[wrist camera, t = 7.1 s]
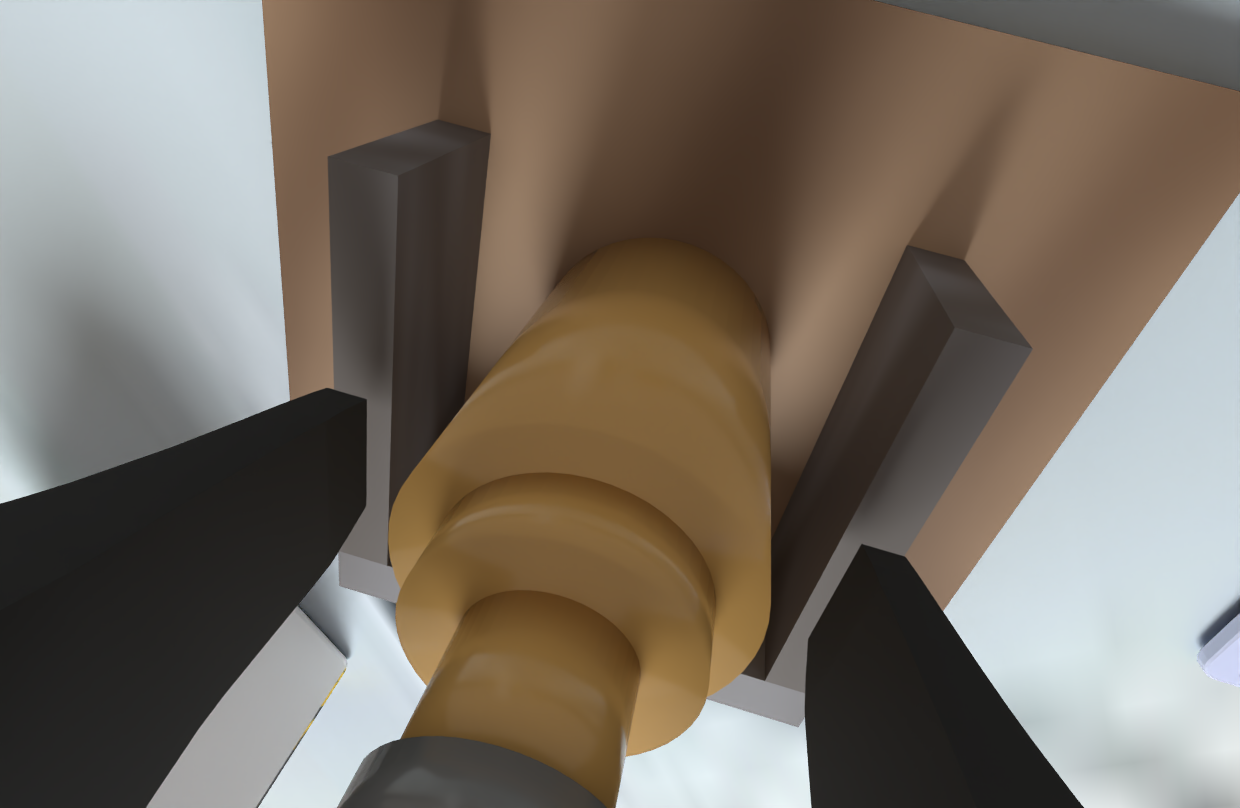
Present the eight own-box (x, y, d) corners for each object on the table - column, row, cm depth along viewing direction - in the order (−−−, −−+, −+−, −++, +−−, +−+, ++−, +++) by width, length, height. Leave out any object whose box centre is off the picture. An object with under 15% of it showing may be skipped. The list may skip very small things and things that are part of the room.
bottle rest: (1257, 98, 10) (1542, 150, 7) (881, 657, 18) (911, 833, 14) (290, -142, 11) (42, -220, 7) (319, 488, 19) (204, 611, 15)
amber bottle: (811, 287, 12) (904, 932, 4) (719, 474, 15) (649, 1118, 6) (573, 202, 12) (124, 642, 4) (522, 403, 15) (181, 942, 6)
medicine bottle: (222, 693, 25) (-145, 1152, 15) (77, 559, 23) (-484, 1006, 12) (356, 661, 23) (19, 1194, 12) (209, 503, 20) (-370, 1017, 10)
